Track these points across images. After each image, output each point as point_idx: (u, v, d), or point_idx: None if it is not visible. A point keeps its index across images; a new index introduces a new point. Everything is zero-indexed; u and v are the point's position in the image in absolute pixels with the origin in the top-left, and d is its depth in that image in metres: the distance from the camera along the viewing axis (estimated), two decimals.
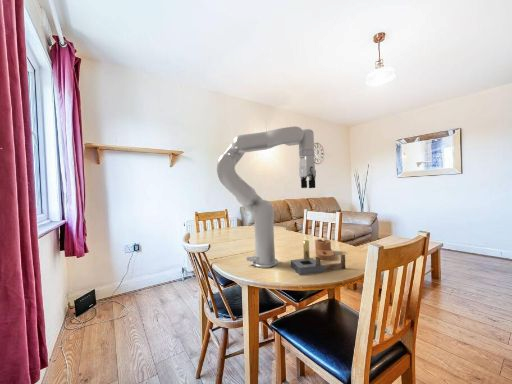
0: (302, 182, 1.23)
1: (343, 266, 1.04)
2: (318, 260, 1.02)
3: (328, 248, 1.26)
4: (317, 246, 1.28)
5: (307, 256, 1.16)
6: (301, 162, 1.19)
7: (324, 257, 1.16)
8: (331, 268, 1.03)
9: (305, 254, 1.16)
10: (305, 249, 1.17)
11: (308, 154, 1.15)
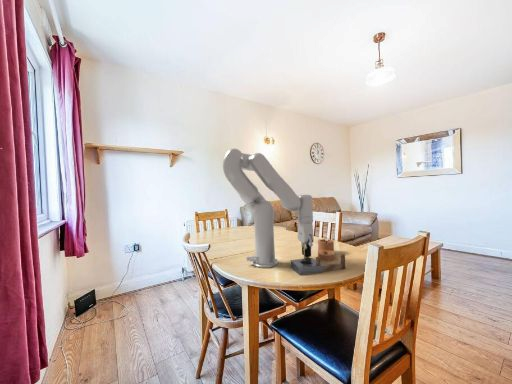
0: (303, 249, 1.19)
1: (343, 266, 1.04)
2: (318, 260, 1.02)
3: (330, 248, 1.26)
4: (319, 246, 1.28)
5: None
6: (299, 227, 1.17)
7: (324, 257, 1.17)
8: (331, 268, 1.03)
9: None
10: None
11: (307, 221, 1.14)
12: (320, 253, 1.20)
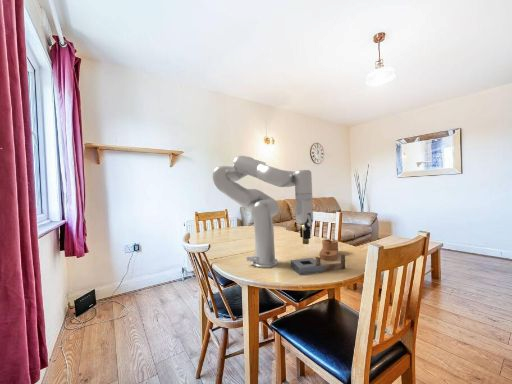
0: (301, 231, 1.07)
1: (343, 266, 1.04)
2: (318, 260, 1.02)
3: (334, 248, 1.25)
4: (323, 246, 1.28)
5: None
6: (297, 206, 1.05)
7: (324, 257, 1.17)
8: (331, 268, 1.03)
9: None
10: None
11: (305, 199, 1.01)
12: (321, 253, 1.21)
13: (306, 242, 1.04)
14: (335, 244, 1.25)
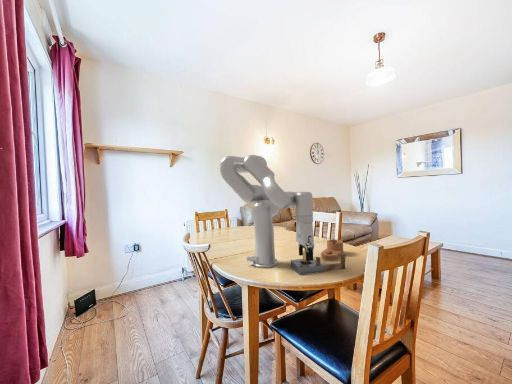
0: (300, 249, 1.09)
1: (343, 266, 1.04)
2: (318, 260, 1.02)
3: (337, 249, 1.24)
4: (327, 246, 1.28)
5: None
6: (298, 227, 1.06)
7: (324, 256, 1.17)
8: (331, 268, 1.03)
9: (305, 262, 1.05)
10: (304, 256, 1.05)
11: (306, 221, 1.02)
12: (323, 253, 1.21)
13: None
14: (339, 245, 1.24)
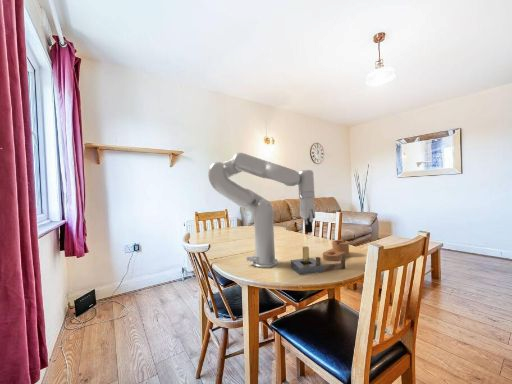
0: None
1: (343, 266, 1.04)
2: (318, 260, 1.02)
3: (341, 250, 1.22)
4: (332, 246, 1.27)
5: None
6: (301, 203, 1.15)
7: (325, 256, 1.17)
8: (331, 268, 1.03)
9: (305, 262, 1.05)
10: (304, 256, 1.05)
11: (307, 196, 1.11)
12: (325, 252, 1.21)
13: None
14: (343, 245, 1.22)
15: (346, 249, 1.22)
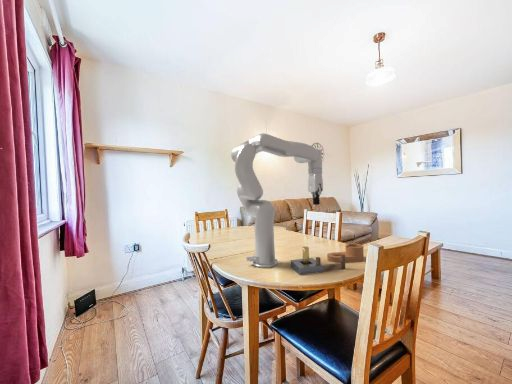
0: None
1: (343, 266, 1.04)
2: (318, 260, 1.02)
3: (350, 253, 1.15)
4: None
5: None
6: (310, 179, 1.31)
7: (327, 256, 1.18)
8: (331, 268, 1.03)
9: (305, 262, 1.05)
10: (304, 256, 1.05)
11: (317, 172, 1.27)
12: (332, 253, 1.20)
13: None
14: (352, 249, 1.14)
15: (356, 254, 1.14)
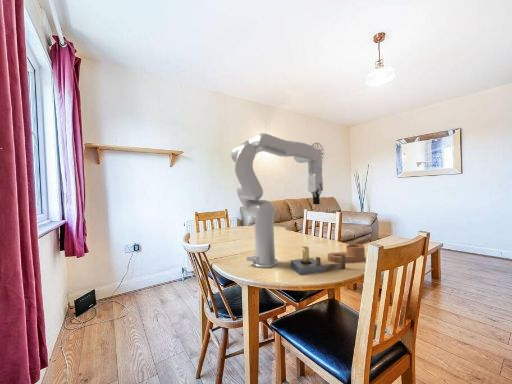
0: None
1: (343, 266, 1.04)
2: (318, 260, 1.02)
3: (351, 254, 1.14)
4: None
5: None
6: (310, 178, 1.31)
7: None
8: (331, 268, 1.03)
9: (305, 262, 1.05)
10: (304, 256, 1.05)
11: (317, 172, 1.27)
12: (332, 253, 1.20)
13: None
14: (352, 250, 1.14)
15: (356, 254, 1.13)
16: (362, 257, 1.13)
